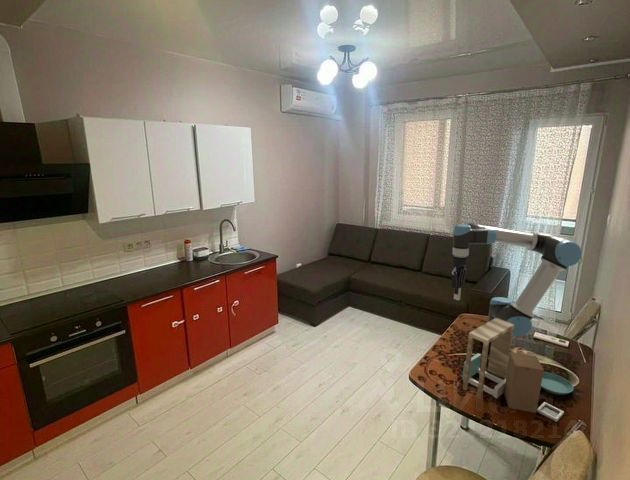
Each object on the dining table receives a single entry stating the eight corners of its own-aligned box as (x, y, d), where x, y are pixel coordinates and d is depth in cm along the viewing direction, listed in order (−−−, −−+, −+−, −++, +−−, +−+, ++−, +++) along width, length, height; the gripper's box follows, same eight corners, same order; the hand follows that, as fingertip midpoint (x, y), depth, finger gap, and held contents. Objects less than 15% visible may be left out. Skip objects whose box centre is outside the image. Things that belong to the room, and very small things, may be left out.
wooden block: (536, 413, 137) (544, 369, 132) (508, 408, 140) (515, 365, 135) (529, 397, 146) (536, 355, 141) (503, 392, 149) (509, 351, 144)
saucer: (568, 381, 156) (568, 376, 156) (576, 402, 143) (577, 396, 143) (530, 373, 162) (531, 368, 161) (535, 392, 149) (536, 387, 148)
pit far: (543, 404, 142) (544, 401, 141) (563, 414, 136) (564, 411, 136) (536, 411, 138) (537, 409, 137) (556, 422, 132) (557, 419, 132)
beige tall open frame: (489, 369, 165) (496, 317, 158) (506, 378, 158) (514, 324, 152) (462, 388, 151) (468, 332, 145) (480, 398, 145) (487, 340, 138)
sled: (476, 369, 164) (478, 353, 162) (510, 387, 152) (512, 369, 150) (462, 379, 157) (464, 362, 155) (496, 398, 145) (499, 379, 143)
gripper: (459, 251, 178) (456, 293, 183) (446, 256, 170) (443, 300, 175) (473, 254, 172) (470, 297, 177) (460, 259, 164) (457, 305, 170)
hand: (456, 299), depth 176 cm, fingers closed
